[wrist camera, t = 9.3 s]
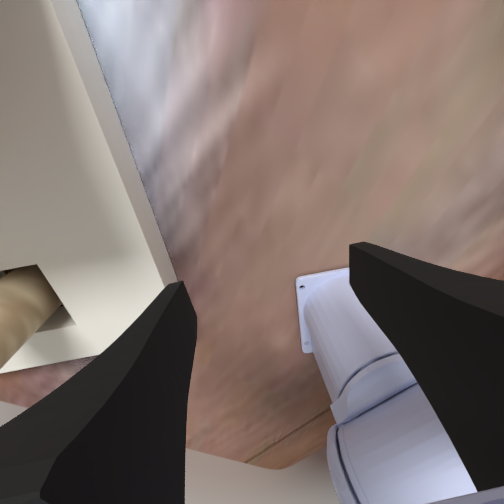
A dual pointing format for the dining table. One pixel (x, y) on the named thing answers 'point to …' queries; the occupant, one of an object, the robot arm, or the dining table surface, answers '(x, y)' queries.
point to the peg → (23, 307)
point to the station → (70, 186)
